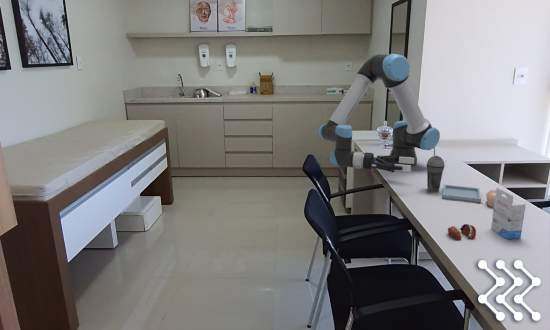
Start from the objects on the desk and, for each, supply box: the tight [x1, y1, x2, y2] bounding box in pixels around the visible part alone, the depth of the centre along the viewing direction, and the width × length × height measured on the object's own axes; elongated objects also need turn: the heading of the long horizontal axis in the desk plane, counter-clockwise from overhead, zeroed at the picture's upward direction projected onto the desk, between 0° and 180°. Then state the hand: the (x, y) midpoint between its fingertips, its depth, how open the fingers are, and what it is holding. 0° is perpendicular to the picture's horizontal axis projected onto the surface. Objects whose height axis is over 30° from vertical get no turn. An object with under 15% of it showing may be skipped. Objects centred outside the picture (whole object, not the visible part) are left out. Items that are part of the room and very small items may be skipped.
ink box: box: [490, 187, 527, 240], centre depth 126 cm, size 9×5×15 cm, turn 5°
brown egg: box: [485, 189, 496, 209], centre depth 152 cm, size 7×5×5 cm
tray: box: [442, 184, 482, 204], centre depth 163 cm, size 14×14×2 cm
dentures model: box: [447, 223, 477, 241], centre depth 127 cm, size 6×4×8 cm
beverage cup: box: [426, 146, 445, 194], centre depth 167 cm, size 7×7×20 cm
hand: (412, 164), depth 170 cm, fingers open, 13 cm apart
